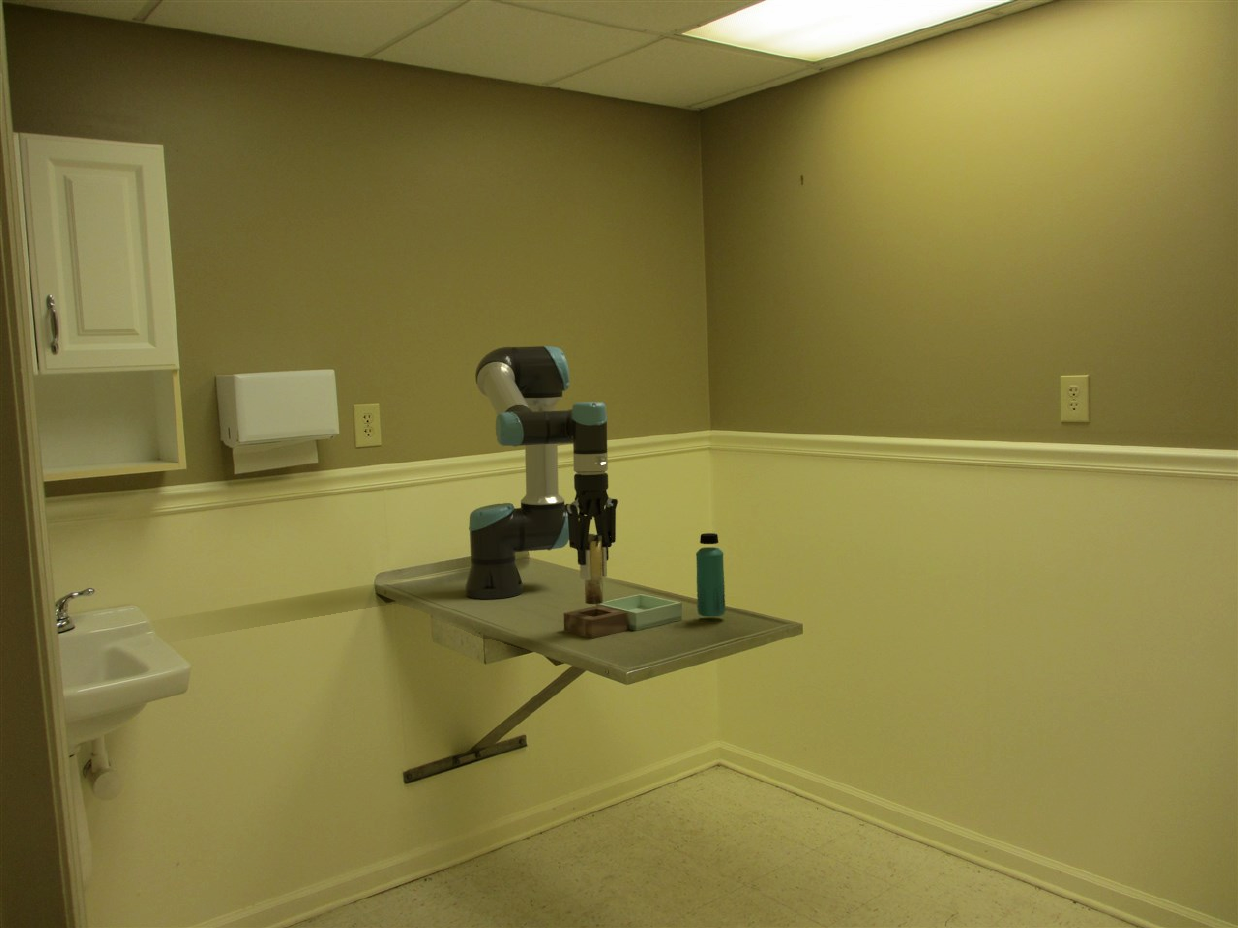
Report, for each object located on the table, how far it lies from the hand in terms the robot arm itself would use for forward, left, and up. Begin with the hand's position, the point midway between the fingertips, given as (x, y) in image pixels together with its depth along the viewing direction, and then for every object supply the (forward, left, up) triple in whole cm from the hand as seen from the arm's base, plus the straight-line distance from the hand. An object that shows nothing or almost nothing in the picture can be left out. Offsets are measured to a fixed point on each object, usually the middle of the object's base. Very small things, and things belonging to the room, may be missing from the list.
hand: (593, 577), depth 221 cm
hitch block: (0, 0, -12) cm, 12 cm away
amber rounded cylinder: (0, 0, -6) cm, 6 cm away
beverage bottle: (+12, +24, -12) cm, 30 cm away
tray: (0, +13, -12) cm, 18 cm away
